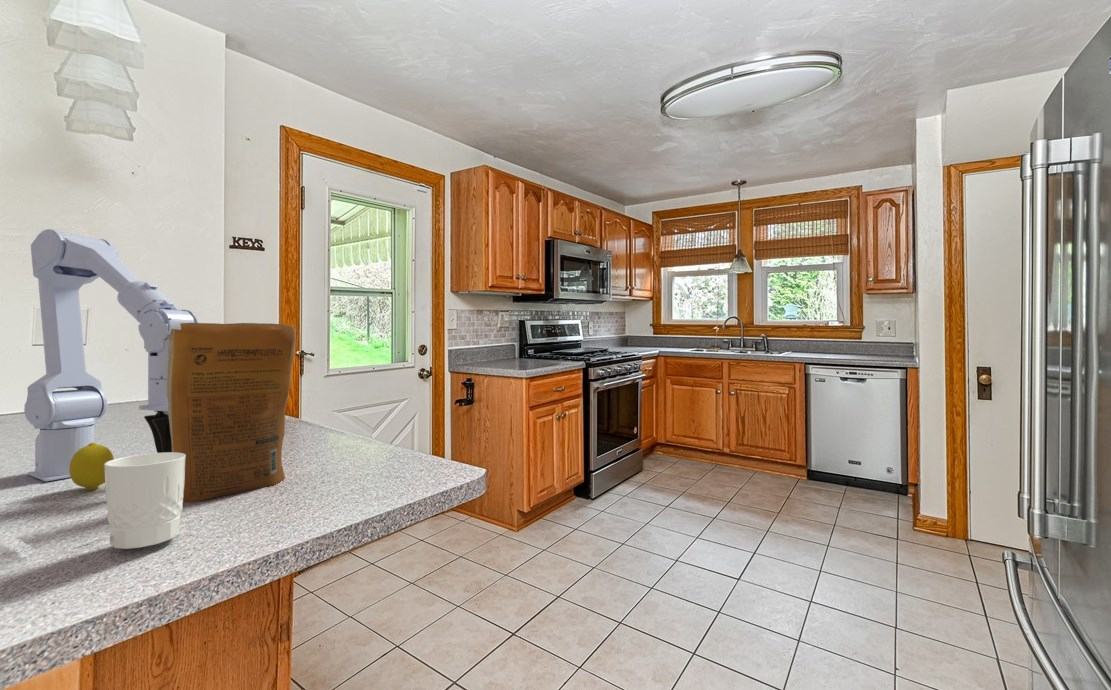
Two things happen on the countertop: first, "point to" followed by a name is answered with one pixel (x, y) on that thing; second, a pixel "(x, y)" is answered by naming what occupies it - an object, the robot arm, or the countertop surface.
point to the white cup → (144, 498)
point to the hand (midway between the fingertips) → (169, 456)
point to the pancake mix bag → (229, 404)
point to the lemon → (89, 466)
